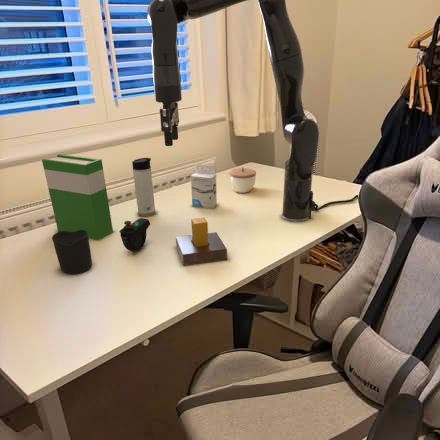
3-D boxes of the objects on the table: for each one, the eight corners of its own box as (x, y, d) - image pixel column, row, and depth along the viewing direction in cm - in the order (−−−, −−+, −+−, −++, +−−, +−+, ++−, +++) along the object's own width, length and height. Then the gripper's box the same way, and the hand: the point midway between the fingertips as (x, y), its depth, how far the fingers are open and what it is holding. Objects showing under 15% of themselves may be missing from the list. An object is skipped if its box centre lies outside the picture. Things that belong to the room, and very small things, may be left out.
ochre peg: (206, 249, 135) (204, 217, 129) (208, 255, 131) (207, 222, 126) (193, 251, 134) (191, 218, 128) (195, 257, 131) (193, 223, 125)
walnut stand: (216, 242, 139) (216, 232, 137) (227, 259, 128) (226, 248, 127) (176, 247, 137) (175, 236, 135) (183, 265, 126) (182, 254, 124)
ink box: (191, 206, 168) (189, 167, 161) (196, 202, 172) (194, 164, 165) (212, 208, 166) (211, 169, 158) (217, 204, 170) (216, 165, 162)
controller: (120, 255, 133) (115, 224, 127) (142, 240, 142) (139, 210, 137) (132, 258, 131) (128, 226, 126) (154, 241, 141) (151, 211, 136)
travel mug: (153, 216, 160) (147, 160, 149) (135, 216, 161) (128, 160, 151) (158, 210, 165) (153, 156, 155) (141, 210, 166) (135, 155, 156)
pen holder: (75, 278, 121) (68, 245, 116) (52, 270, 125) (44, 238, 120) (100, 264, 128) (94, 232, 122) (77, 257, 132) (71, 226, 127)
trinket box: (231, 186, 189) (231, 164, 184) (256, 186, 187) (257, 164, 182) (228, 194, 180) (228, 171, 175) (254, 194, 178) (255, 171, 173)
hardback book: (58, 231, 150) (41, 159, 138) (73, 223, 156) (59, 154, 143) (98, 240, 143) (84, 165, 131) (113, 231, 149) (101, 159, 136)
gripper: (175, 85, 118) (180, 148, 126) (184, 80, 130) (188, 137, 138) (148, 86, 119) (154, 148, 127) (159, 80, 131) (164, 137, 139)
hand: (171, 142), depth 133 cm, fingers open, 8 cm apart
